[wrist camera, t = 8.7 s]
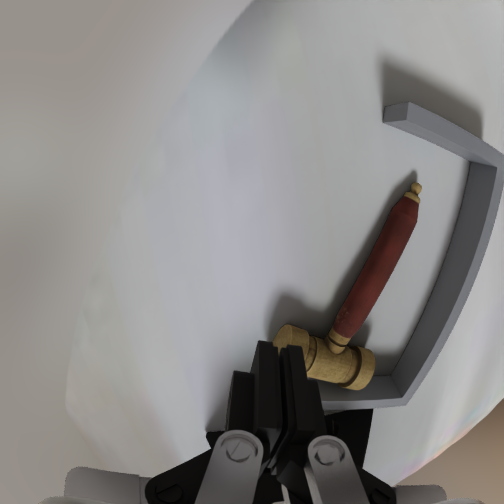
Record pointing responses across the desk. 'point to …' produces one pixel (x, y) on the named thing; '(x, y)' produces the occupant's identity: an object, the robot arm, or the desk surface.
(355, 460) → the device stand
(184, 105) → the desk surface
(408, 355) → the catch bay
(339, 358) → the gavel
